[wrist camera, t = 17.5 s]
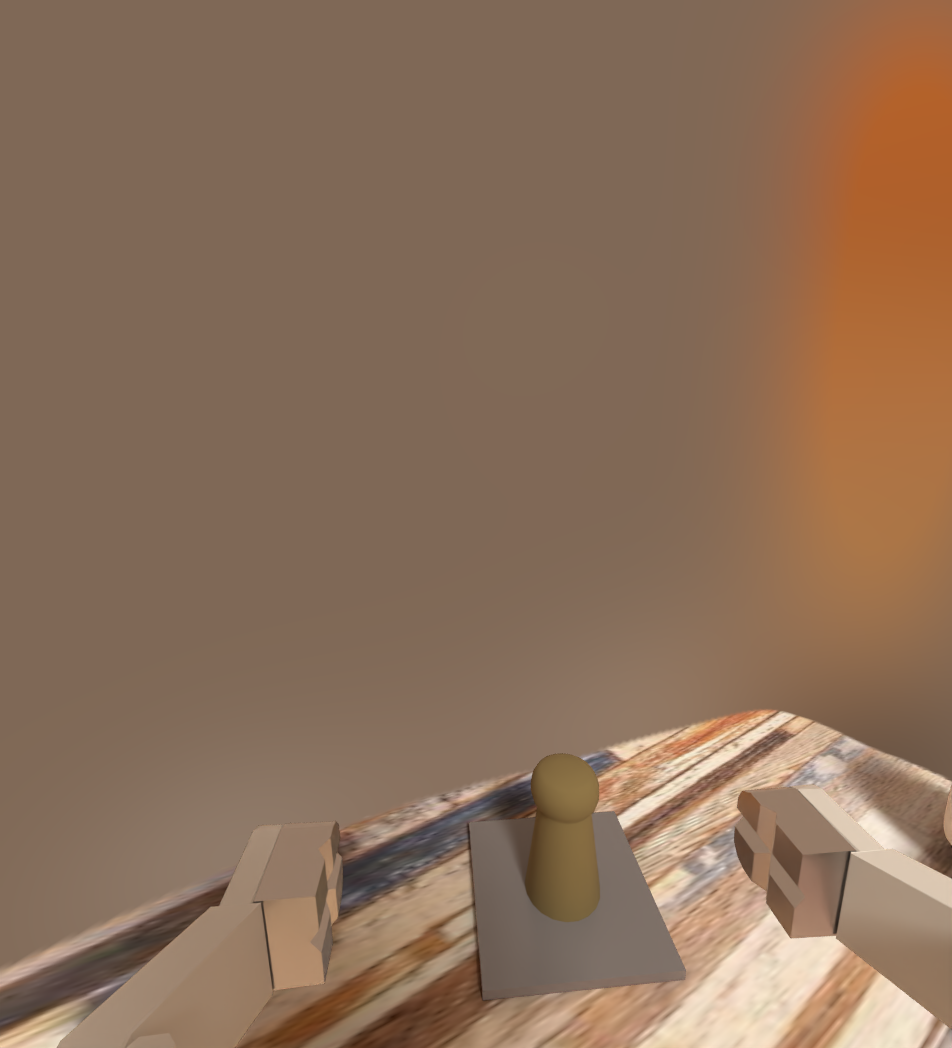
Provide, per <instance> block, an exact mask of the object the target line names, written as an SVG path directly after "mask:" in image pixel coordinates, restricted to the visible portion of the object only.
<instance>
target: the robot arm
mask: <svg viewBox="0 0 952 1048" xmlns="http://www.w3.org/2000/svg"><path fill="white" fill-rule="evenodd" d="M737 808H738V810H739V811H740V812H741V814H742V815H743V817H742V818H741V819H740V821H739V822H738V823H737V824H736V826H735V833H734V843H735V847H736V852H737V856H738V858H739V860H740V863H741V865H742V867H743V869H744V871H745V872H746V874H747V875H748V877H749V878H750V880H751V881H752V882H754V883H755V884H757V885H758V886H760V887H761V888H763V889H764V890H766V903H767V905H768V906H769V908H770V909H771V911H772V912H773V914H774V915H775V916H776V918H777V919H778V921H779V922H780V924H781V925H782V927H783V928H784V930H785V931H786V933H787V934H788V935H789V937H790V938H805V937H821V936H836V939H837V940H839V941H840V942H841V943H843V944H844V945H845V946H846V947H848V948H849V949H850V950H851V951H853V952H854V953H855V954H857V955H858V956H859V957H860V958H862V959H863V960H864V961H865V962H867V963H868V964H869V965H870V966H872V967H873V968H874V969H876V970H877V971H878V972H879V973H881V974H882V975H883V976H884V977H886V978H887V979H888V980H890V981H891V982H892V983H893V984H895V985H896V986H897V987H898V988H900V989H901V990H902V991H904V992H905V993H906V994H907V995H909V996H910V997H911V998H912V999H914V1000H915V1001H916V1002H917V1003H919V1004H920V1005H921V1006H923V1007H924V1008H925V1009H926V1010H928V1011H929V1012H930V1013H931V1014H933V1015H934V1016H935V1017H937V1018H938V1019H939V1020H940V1021H942V1022H943V1023H944V1024H945V1025H947V1026H948V1027H949V1028H951V1029H952V879H951V878H949V877H947V876H945V875H943V874H941V873H939V872H937V871H936V870H934V869H932V868H930V867H928V866H926V865H924V864H922V863H920V862H918V861H916V860H914V859H912V858H910V857H908V856H906V855H904V854H902V853H900V852H898V851H896V850H894V849H884V848H883V847H882V846H881V845H880V844H879V843H878V842H877V841H876V840H875V839H874V838H873V837H872V836H870V835H869V834H868V833H867V832H866V831H865V830H864V829H863V828H862V827H861V826H860V825H859V824H858V823H857V822H856V821H855V820H854V819H853V818H852V817H851V816H850V815H849V814H848V813H847V812H845V811H844V810H843V809H842V808H841V807H840V806H839V805H838V804H837V803H836V802H835V801H834V800H833V799H832V798H831V797H830V796H829V795H828V794H827V793H826V792H825V791H824V790H823V789H821V788H820V787H818V786H816V785H814V784H811V785H800V786H790V787H781V788H769V789H757V790H745V791H742V792H741V794H740V795H739V797H738V804H737ZM339 841H340V832H339V824H338V823H337V822H336V821H332V822H310V823H288V824H284V825H260V826H258V827H257V828H256V829H255V830H254V831H253V832H252V834H251V836H250V838H249V841H248V843H247V845H246V847H245V849H244V852H243V854H242V856H241V858H240V861H239V863H238V865H237V867H236V869H235V872H234V874H233V876H232V878H231V881H230V883H229V885H228V887H227V889H226V892H225V894H224V896H223V898H222V901H221V903H220V905H219V906H215V907H210V908H209V909H208V910H207V911H205V912H204V913H203V914H202V915H201V916H200V917H199V918H198V919H196V920H195V921H194V922H193V923H192V924H191V925H190V926H189V927H187V928H186V929H185V930H184V931H183V932H182V933H181V934H180V935H179V936H177V937H176V938H175V939H174V940H173V941H172V942H171V943H170V944H168V945H167V946H166V947H165V948H164V949H163V950H162V951H161V952H160V953H158V954H157V955H156V956H155V957H154V958H153V959H152V960H151V961H149V962H148V963H147V964H146V965H145V966H144V967H143V968H142V969H141V970H139V971H138V972H137V973H136V974H135V975H134V976H133V977H132V978H130V979H129V980H128V981H127V982H126V983H125V984H124V985H123V986H122V987H120V988H119V989H118V990H117V991H116V992H115V993H114V994H113V995H111V996H110V997H109V998H108V999H107V1000H106V1001H105V1002H104V1003H103V1004H101V1005H100V1006H99V1007H98V1008H97V1009H96V1010H95V1011H94V1012H92V1013H91V1014H90V1015H89V1016H88V1017H87V1018H86V1019H85V1020H84V1021H82V1022H81V1023H80V1024H79V1025H78V1026H77V1027H76V1028H75V1029H73V1030H72V1031H71V1032H70V1033H69V1034H68V1035H67V1036H66V1037H65V1038H63V1039H62V1040H61V1041H60V1043H59V1045H58V1046H57V1048H235V1047H236V1045H237V1044H238V1042H239V1041H240V1040H241V1038H242V1037H243V1035H244V1034H245V1033H246V1031H247V1030H248V1028H249V1027H250V1026H251V1024H252V1023H253V1022H254V1020H255V1019H256V1017H257V1016H258V1015H259V1013H260V1012H261V1010H262V1009H263V1008H264V1006H265V1005H266V1004H267V1002H268V1001H269V999H270V998H271V997H272V995H273V990H281V989H289V988H296V987H304V986H311V985H319V984H325V979H326V974H327V969H328V964H329V960H330V955H331V950H332V945H333V938H332V926H331V925H332V924H333V922H334V921H335V920H336V919H337V918H338V915H339V909H340V904H341V896H342V886H343V864H342V857H341V856H340V855H339V854H338V853H337V850H338V846H339Z"/></svg>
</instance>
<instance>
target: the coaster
mask: <svg viewBox="0 0 952 1048" xmlns="http://www.w3.org/2000/svg"><path fill="white" fill-rule="evenodd" d="M535 818H536V817H533V818H520V819H506V820H493V821H480V822H469V834H470V846H471V859H472V871H473V884H474V897H475V909H476V922H477V935H478V947H479V960H480V972H481V985H482V998H483V1000H491V999H500V998H510V997H520V996H530V995H539V994H549V993H559V992H569V991H578V990H588V989H598V988H608V987H618V986H627V985H637V984H647V983H657V982H666V981H676V980H685V975H686V969H685V967H684V965H683V963H682V961H681V958H680V956H679V954H678V952H677V949H676V947H675V945H674V943H673V941H672V938H671V936H670V934H669V932H668V930H667V927H666V925H665V923H664V921H663V918H662V916H661V914H660V912H659V910H658V907H657V905H656V903H655V901H654V898H653V896H652V894H651V892H650V890H649V887H648V885H647V883H646V881H645V878H644V876H643V874H642V872H641V870H640V867H639V865H638V863H637V861H636V858H635V856H634V854H633V852H632V850H631V847H630V845H629V843H628V841H627V839H626V836H625V834H624V832H623V830H622V827H621V825H620V823H619V821H618V819H617V816H616V814H615V812H614V811H612V812H599V813H592V821H593V830H594V839H595V848H596V857H597V865H598V874H599V883H600V900H599V902H598V905H597V908H596V909H595V910H594V911H593V912H592V913H591V914H590V915H589V916H588V917H586V918H584V919H582V920H580V921H575V922H562V921H558V920H553V919H551V918H549V917H548V916H546V915H544V914H542V913H541V912H540V911H539V910H538V909H537V908H536V907H535V906H534V905H533V904H532V902H531V900H530V899H529V897H528V895H527V892H526V887H525V878H526V872H527V866H528V860H529V854H530V848H531V842H532V836H533V830H534V824H535Z"/></svg>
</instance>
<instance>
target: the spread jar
mask: <svg viewBox="0 0 952 1048" xmlns="http://www.w3.org/2000/svg"><path fill="white" fill-rule="evenodd" d="M943 827H944V833H945V836H946V838H947V840H948V842H949V844H950V846H951V847H952V785H951V788H950V792H949V795H948V800H947V805H946V809H945V814H944V824H943Z"/></svg>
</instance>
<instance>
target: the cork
mask: <svg viewBox="0 0 952 1048" xmlns="http://www.w3.org/2000/svg"><path fill="white" fill-rule="evenodd" d="M531 791H532V795H533V799H534V803H535V804H536V806H537V812H536V818H535V824H534V830H533V836H532V842H531V848H530V854H529V860H528V866H527V872H526V878H525V887H526V892H527V895H528V897H529V899H530V900H531V902H532V904H533V905H534V906H535V907H536V908H537V909H538V910H539V911H540V912H541V913H542V914H544V915H546V916H548V917H549V918H551V919H553V920H558V921H562V922H575V921H580V920H582V919H584V918H586V917H588V916H589V915H590V914H591V913H592V912H593V911H594V910H595V909H596V908H597V905H598V902H599V900H600V883H599V874H598V865H597V857H596V848H595V839H594V830H593V821H592V813H593V812H594V810H595V808H596V806H597V803H598V800H599V783H598V779H597V777H596V774H595V772H594V771H593V769H592V768H591V767H590V765H589V764H588V763H587V762H586V761H584V760H582V759H581V758H579V757H576V756H573V755H570V754H563V753H562V754H553V755H549V756H546V757H545V758H543V759H542V760H541V761H540V762H539V763H538V764H537V766H536V767H535V769H534V771H533V774H532V779H531Z"/></svg>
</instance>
